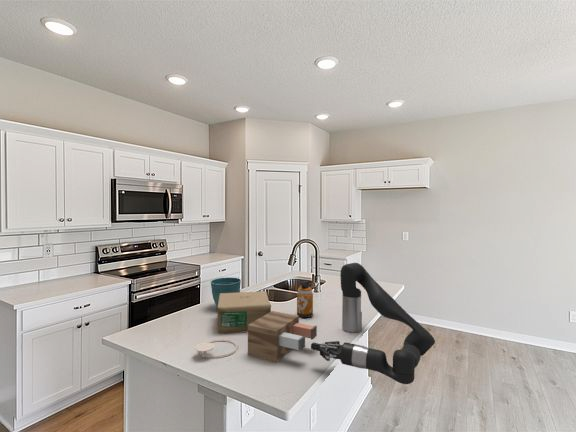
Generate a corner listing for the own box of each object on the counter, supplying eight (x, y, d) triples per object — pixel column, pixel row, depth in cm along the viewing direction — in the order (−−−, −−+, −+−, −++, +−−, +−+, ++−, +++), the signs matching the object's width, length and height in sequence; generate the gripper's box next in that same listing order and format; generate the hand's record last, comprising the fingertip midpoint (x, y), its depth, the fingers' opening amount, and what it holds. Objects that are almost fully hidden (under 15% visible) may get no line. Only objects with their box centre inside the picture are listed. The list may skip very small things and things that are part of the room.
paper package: (216, 335, 153) (216, 306, 152) (219, 316, 178) (219, 291, 178) (272, 331, 157) (272, 303, 157) (267, 313, 183) (267, 289, 182)
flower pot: (205, 312, 185) (204, 283, 184) (218, 302, 202) (218, 276, 202) (233, 314, 180) (233, 285, 180) (245, 305, 198) (245, 278, 197)
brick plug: (285, 329, 145) (285, 319, 144) (316, 335, 137) (316, 325, 137) (280, 332, 141) (280, 322, 141) (312, 339, 133) (312, 329, 133)
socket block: (272, 336, 150) (272, 310, 150) (298, 342, 144) (298, 315, 143) (247, 354, 132) (247, 325, 132) (276, 362, 126) (276, 331, 125)
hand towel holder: (246, 337, 140) (212, 356, 123) (246, 347, 140) (212, 367, 123) (218, 329, 149) (182, 345, 132) (218, 338, 149) (182, 355, 132)
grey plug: (271, 339, 134) (271, 328, 134) (305, 346, 127) (305, 336, 127) (266, 343, 130) (266, 332, 130) (300, 351, 123) (300, 340, 123)
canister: (294, 316, 177) (294, 281, 176) (302, 311, 187) (302, 277, 186) (308, 319, 173) (309, 283, 172) (316, 313, 183) (316, 279, 182)
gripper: (350, 374, 109) (304, 362, 117) (360, 358, 121) (318, 348, 129) (350, 352, 109) (304, 342, 117) (360, 338, 120) (318, 330, 129)
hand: (311, 345), depth 123 cm, fingers closed
